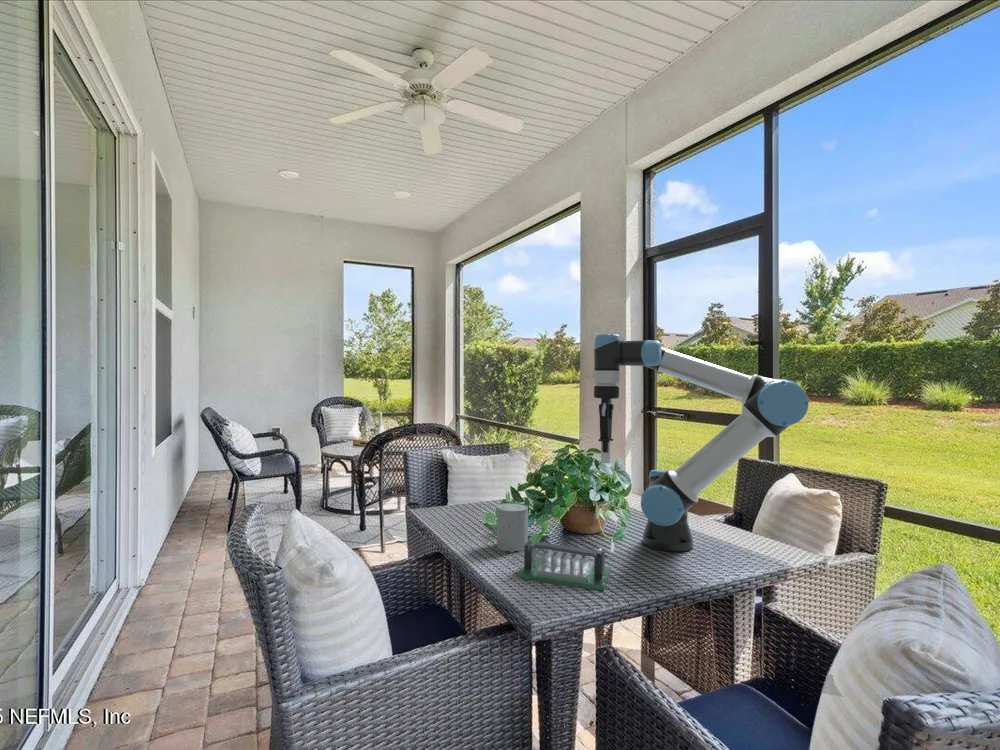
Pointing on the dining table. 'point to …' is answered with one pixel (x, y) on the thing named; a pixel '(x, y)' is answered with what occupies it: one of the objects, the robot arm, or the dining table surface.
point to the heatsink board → (565, 569)
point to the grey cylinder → (512, 526)
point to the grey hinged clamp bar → (568, 549)
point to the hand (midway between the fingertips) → (605, 462)
